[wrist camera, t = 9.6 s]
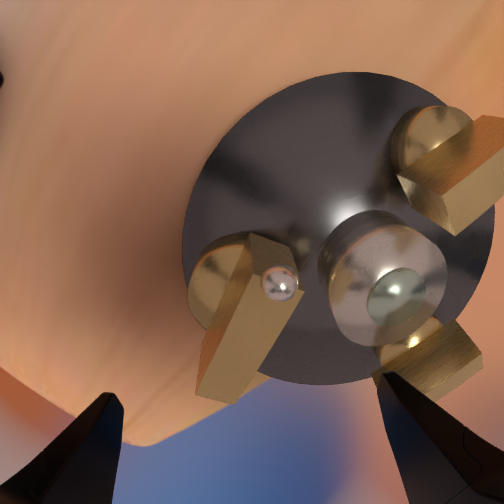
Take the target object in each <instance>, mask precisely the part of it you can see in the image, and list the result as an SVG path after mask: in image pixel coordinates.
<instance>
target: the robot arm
mask: <svg viewBox="0 0 504 504" xmlns="http://www.w3.org/2000/svg"><path fill="white" fill-rule="evenodd" d="M1 83H2V75H1V74H0V85H1ZM377 395H378V399H379V403H380V408H381V412H382V417H383V421H384V426H385V430H386V433H387V436H388V439H389V442H390V445H391V448H392V451H393V454H394V457H395V460H396V463H397V466H398V469H399V472H400V475H401V478H402V481H403V485H404V488H405V491H406V494H407V498H408V501H409V504H504V451H502V450H500V449H499V448H497V447H495V446H493V445H492V444H490V443H488V442H487V441H485V440H484V439H482V438H481V437H479V436H478V435H477V434H475V433H474V432H472V431H471V430H470V429H468V428H467V427H466V426H464V425H463V424H462V423H460V422H459V421H458V420H456V419H455V418H454V417H453V416H451V415H450V414H449V413H447V412H446V411H445V410H444V409H442V408H441V407H440V406H438V405H437V404H436V403H435V402H433V401H432V400H431V399H429V398H428V397H427V396H426V395H424V394H423V393H422V392H420V391H419V390H418V389H417V388H415V387H414V386H413V385H411V384H410V383H409V382H407V381H406V380H405V379H404V378H402V377H401V376H400V375H398V374H397V373H396V372H394V371H389V372H384V373H382V374H381V377H380V380H379V384H378V387H377ZM123 418H124V408H123V406H122V404H121V403H120V401H119V399H118V398H117V396H116V395H115V394H114V393H110V392H104V393H102V394H101V395H100V396H99V397H98V398H97V399H96V400H95V401H94V402H93V403H91V404H90V405H89V406H88V407H87V408H86V409H85V410H84V411H83V412H82V413H81V414H80V415H79V416H78V417H77V418H76V419H75V420H74V421H73V422H72V423H71V424H70V425H69V426H68V427H67V428H66V429H65V430H63V431H62V432H61V433H60V435H58V436H57V437H56V438H55V439H54V440H53V441H52V442H51V443H50V444H49V445H48V446H47V447H46V448H45V449H44V450H43V451H42V452H40V453H39V454H38V455H37V456H36V457H35V458H34V459H33V460H32V461H31V462H30V463H29V464H28V465H26V466H25V467H24V468H23V469H21V470H20V471H19V472H17V473H16V474H15V475H14V476H12V477H11V478H9V479H8V480H7V481H5V482H4V483H3V484H1V485H0V504H112V498H113V491H114V485H115V478H116V472H117V467H118V461H119V456H120V450H121V442H122V429H123Z"/></svg>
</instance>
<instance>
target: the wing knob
mask: <svg viewBox="0 0 504 504" xmlns="http://www.w3.org/2000/svg"><path fill="white" fill-rule="evenodd" d="M304 292H305V290H304V287H303V285H302V282H301V279H300V276H299V273H298V270H297V267H296V264H295V261H294V258H293V256H292V253H291V250H290V247H288V246H285V245H283V244H280V243H277V242H275V241H272V240H269V239H267V238H264V237H261V236H259V235H256V234H253V233H251V232H250V233H234V234H229V235H225V236H222V237H220V238H218V239H216V240H214V241H213V242H211V243H210V244H209V245H207V246H206V247H205V248H204V249H203V251H202V252H201V253H200V255H199V256H198V258H197V260H196V263H195V266H194V269H193V273H192V276H191V280H190V283H189V287H188V303H189V307H190V310H191V312H192V314H193V316H194V317H195V319H196V320H197V321H198V322H199V324H200V325H201V326H203V327H204V328H205V329H206V330H207V333H206V335H205V337H204V340H203V342H202V348H201V355H200V362H199V369H198V376H197V383H196V391H195V395H198V396H201V397H205V398H209V399H213V400H217V401H221V402H225V403H230V404H234V405H235V403H236V402H237V400H238V399H239V397H240V396H241V394H242V393H243V391H244V390H245V388H246V387H247V385H248V384H249V382H250V381H251V379H252V378H253V376H254V374H255V373H256V371H257V370H258V368H259V367H260V365H261V364H262V362H263V360H264V359H265V357H266V356H267V354H268V352H269V351H270V349H271V348H272V346H273V344H274V343H275V341H276V339H277V338H278V336H279V334H280V333H281V331H282V330H283V328H284V326H285V325H286V323H287V321H288V320H289V318H290V316H291V314H292V313H293V311H294V309H295V308H296V306H297V304H298V302H299V301H300V299H301V297H302V296H303V294H304Z"/></svg>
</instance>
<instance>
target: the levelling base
mask: <svg viewBox="0 0 504 504" xmlns="http://www.w3.org/2000/svg"><path fill="white" fill-rule="evenodd" d="M503 195H504V118H501V117H494V116H486V115H482V116H480V117H479V118H478V119H476V120H475V121H473V120H472V119H471V118H470V117H469V116H468V115H467V114H466V113H464V112H463V111H461V110H460V109H457V108H455V107H451V106H447V105H446V104H445V103H443V102H442V101H441V100H440V99H438V98H437V97H436V96H434V95H433V94H431V93H430V92H428V91H426V90H424V89H422V88H420V87H419V86H417V85H415V84H413V83H410V82H407V81H404V80H401V79H398V78H395V77H392V76H388V75H382V74H376V73H370V72H341V73H335V74H329V75H324V76H318V77H314V78H311V79H309V80H306V81H303V82H300V83H297V84H294V85H292V86H289V87H287V88H286V89H284V90H282V91H280V92H278V93H276V94H274V95H273V96H271V97H269V98H267V99H266V100H264V101H263V102H262V103H260V104H259V105H258V106H256V107H255V108H254V109H252V110H251V111H250V112H249V113H247V114H246V115H245V116H243V117H242V118H241V119H240V120H239V121H238V122H237V123H236V125H235V126H234V127H233V128H232V129H231V130H230V131H229V132H228V133H227V134H226V135H225V136H224V137H223V138H222V140H221V141H220V143H219V144H218V146H217V147H216V148H215V150H214V151H213V153H212V154H211V156H210V157H209V158H208V160H207V161H206V163H205V165H204V167H203V169H202V171H201V173H200V176H199V178H198V180H197V182H196V184H195V186H194V189H193V192H192V195H191V198H190V201H189V204H188V208H187V211H186V217H185V223H184V229H183V236H182V261H183V267H184V274H185V281H186V284H187V288H188V287H189V283H190V280H191V276H192V273H193V269H194V266H195V263H196V260H197V258H198V256H199V255H200V253H201V252H202V251H203V249H204V248H205V247H206V246H207V245H209V244H210V243H211V242H213V241H214V240H216V239H218V238H220V237H222V236H225V235H229V234H234V233H250V232H251V233H253V234H256V235H259V236H261V237H264V238H267V239H269V240H272V241H275V242H277V243H280V244H283V245H285V246H288V247H290V250H291V253H292V256H293V258H294V261H295V264H296V267H297V270H298V273H299V276H300V279H301V282H302V285H303V287H304V290H305V292H304V294H303V296H302V297H301V299H300V301H299V302H298V304H297V306H296V308H295V309H294V311H293V313H292V314H291V316H290V318H289V320H288V321H287V323H286V325H285V326H284V328H283V330H282V331H281V333H280V334H279V336H278V338H277V339H276V341H275V343H274V344H273V346H272V348H271V349H270V351H269V352H268V354H267V356H266V357H265V359H264V360H263V362H262V364H261V365H260V367H259V368H258V370H257V371H258V372H261V373H263V374H265V375H267V376H270V377H273V378H277V379H280V380H283V381H288V382H293V383H299V384H310V385H333V384H342V383H349V382H354V381H358V380H362V379H366V378H370V377H372V378H373V380H374V383H375V385H376V387H378V384H379V380H380V377H381V374H382V373H384V372H389V371H394V372H396V373H397V374H398V375H400V376H401V377H402V378H404V379H405V380H406V381H407V382H409V383H410V384H411V385H413V386H414V387H415V388H417V389H418V390H419V391H420V392H422V393H423V394H424V395H426V396H427V397H428V398H429V399H431V400H432V401H433V402H435V401H437V400H439V399H440V398H442V397H443V396H445V395H446V394H448V393H449V392H451V391H452V390H453V389H455V388H456V387H458V386H459V385H461V384H462V383H463V382H465V381H466V380H467V379H469V378H470V377H471V376H473V375H474V374H475V373H476V372H478V371H479V370H480V369H482V368H483V365H482V353H481V351H480V350H479V349H478V347H477V346H476V345H475V344H474V342H473V341H472V340H471V339H470V337H469V336H468V335H467V334H466V332H465V331H464V330H463V329H462V328H461V326H460V325H459V324H458V323H457V321H456V318H457V317H458V316H459V314H460V313H461V312H462V310H463V309H464V308H465V306H466V305H467V303H468V301H469V300H470V298H471V297H472V295H473V293H474V291H475V289H476V287H477V285H478V283H479V281H480V279H481V277H482V274H483V271H484V269H485V266H486V263H487V260H488V256H489V253H490V249H491V245H492V238H493V232H494V218H495V206H494V203H495V202H497V201H498V200H499V199H500V198H501V197H502V196H503Z"/></svg>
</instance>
